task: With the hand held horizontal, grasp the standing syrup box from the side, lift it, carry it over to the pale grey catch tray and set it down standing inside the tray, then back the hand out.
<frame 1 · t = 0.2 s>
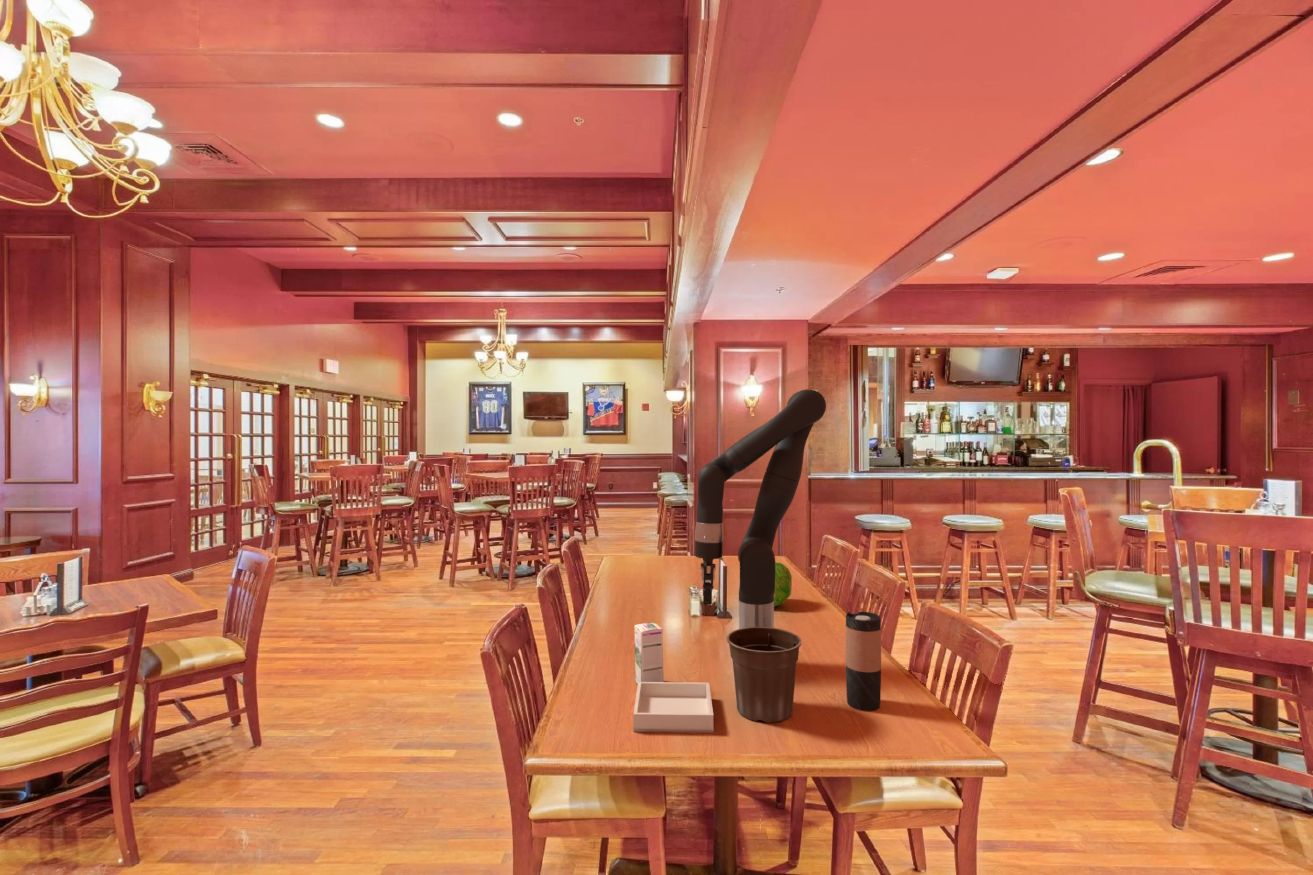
hand: (707, 600, 159), 17 cm above the table, fingers open, 8 cm apart
catch tray: (673, 713, 130), on the table
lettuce: (767, 606, 216), on the table
travel mug: (863, 704, 135), on the table
syrup box: (649, 686, 146), on the table
plant pot: (764, 711, 132), on the table
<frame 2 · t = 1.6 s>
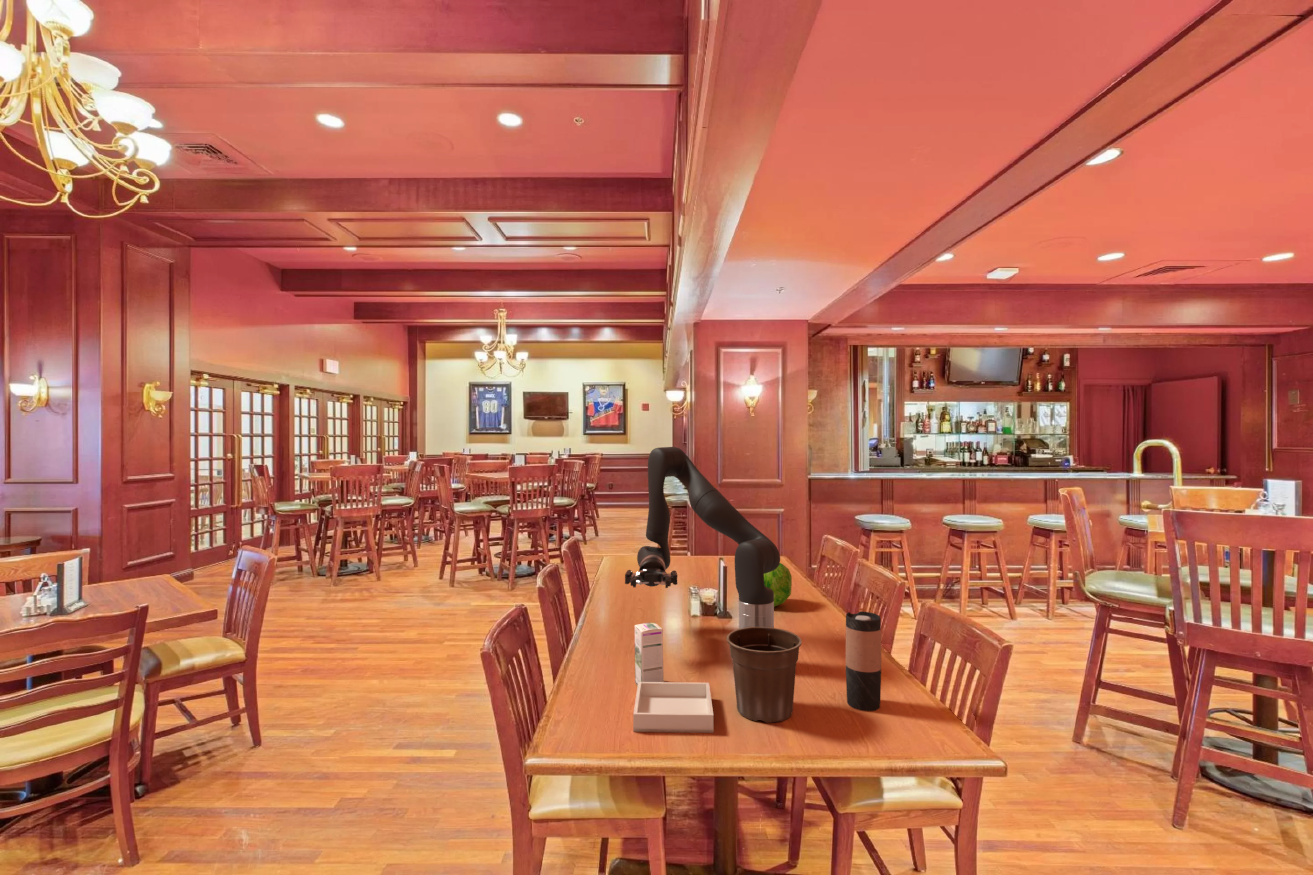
hand: (650, 583, 157), 22 cm above the table, fingers open, 8 cm apart
nothing on the table moved.
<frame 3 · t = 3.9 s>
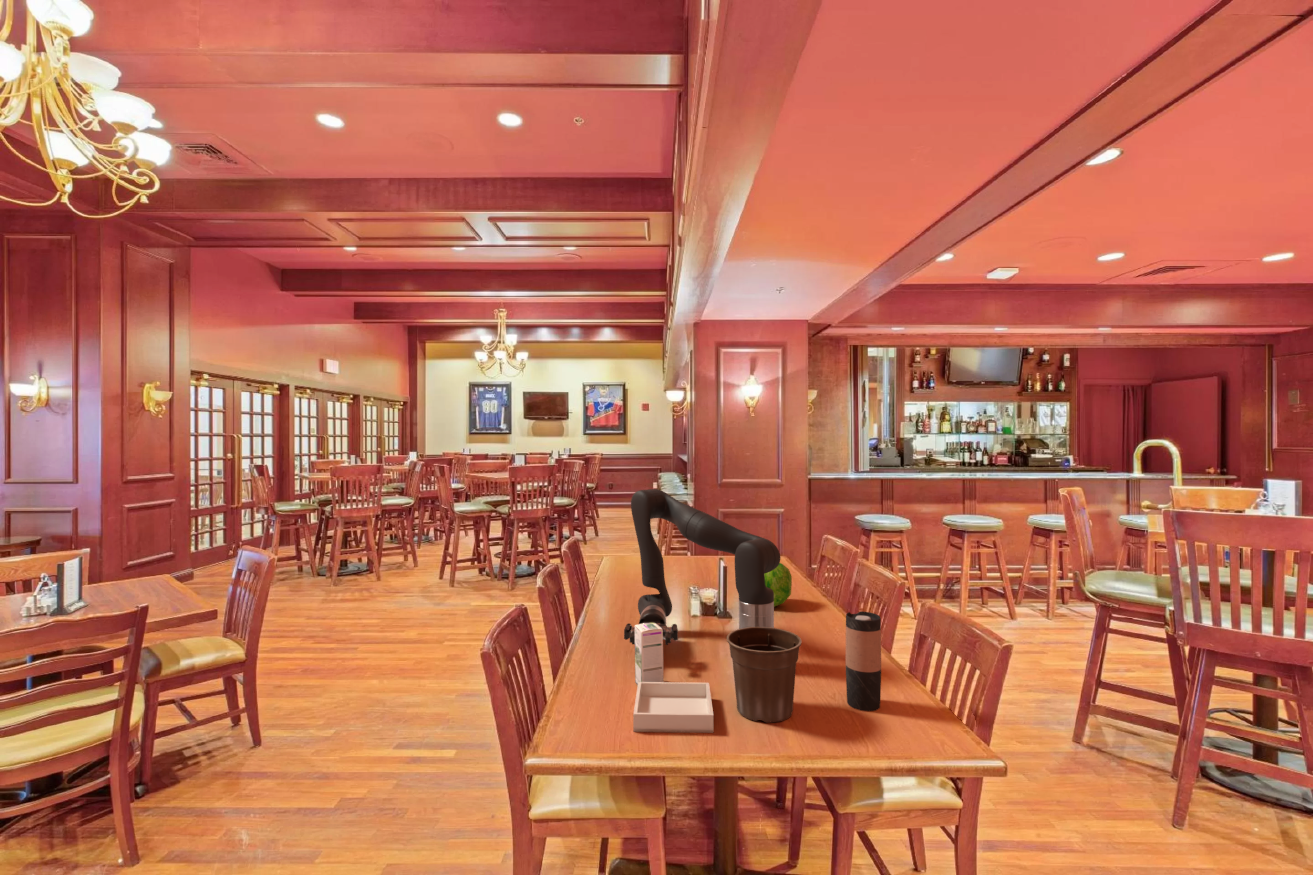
hand: (650, 640, 153), 9 cm above the table, fingers open, 8 cm apart
nothing on the table moved.
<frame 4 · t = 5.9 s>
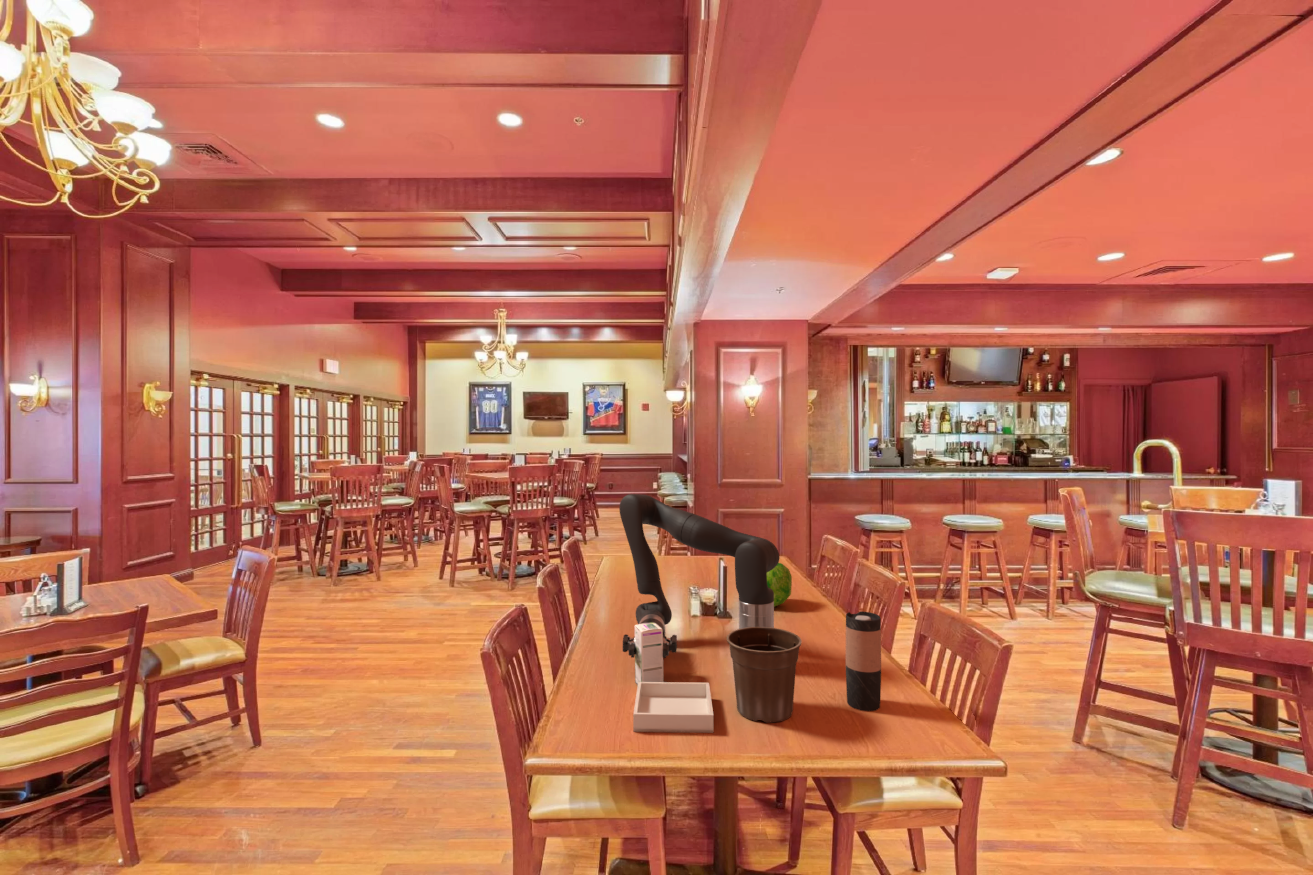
hand: (648, 653, 143), 9 cm above the table, fingers closed on syrup box, 7 cm apart
syrup box: (648, 686, 146), on the table, touching gripper
everything else where it was.
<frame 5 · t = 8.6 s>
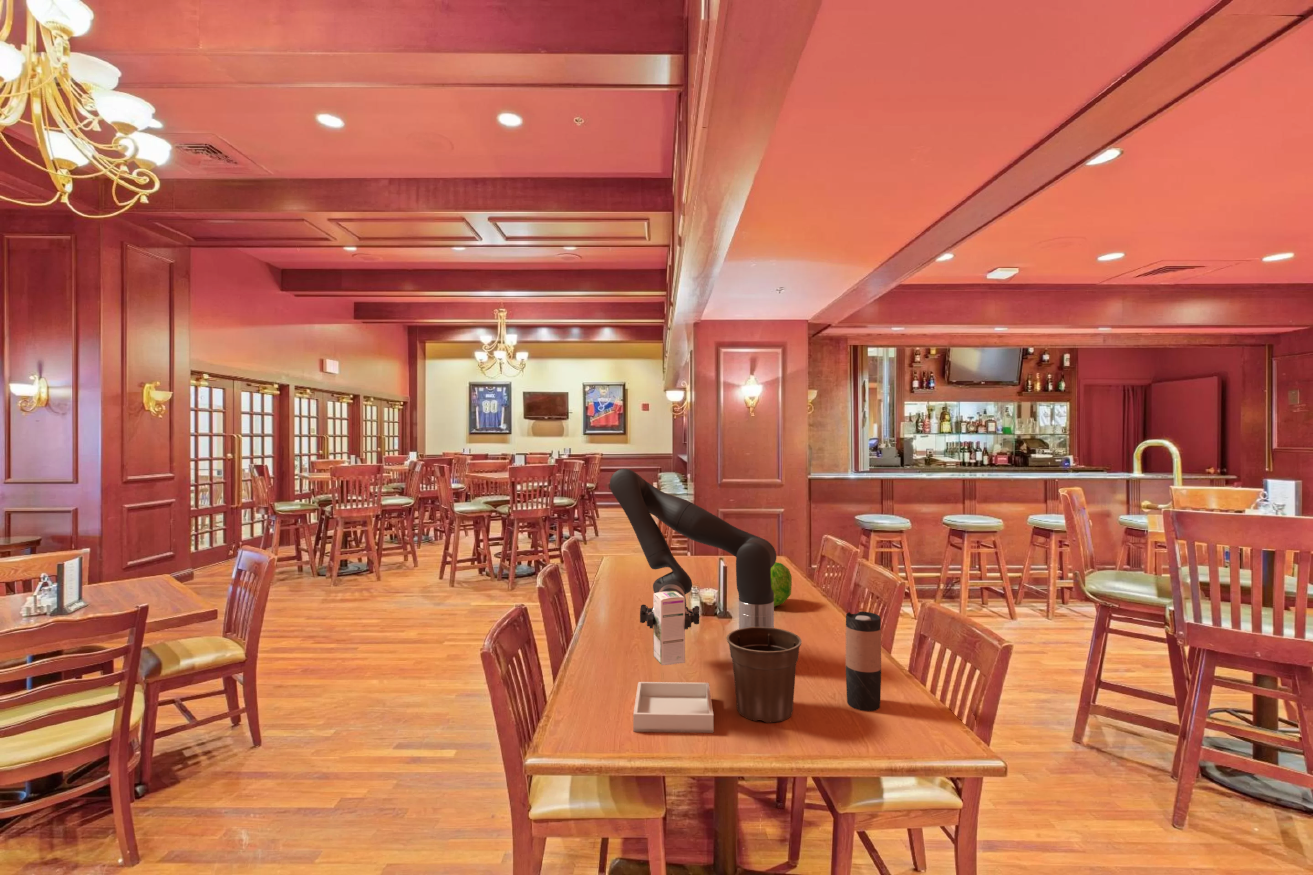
hand: (668, 624, 130), 20 cm above the table, fingers closed on syrup box, 7 cm apart
syrup box: (668, 660, 132), point 11 cm above the table, touching gripper
everything else where it was.
when the fingers open (10 cm above the table, at t = 11.2 s): syrup box drops 1 cm, resting on catch tray.
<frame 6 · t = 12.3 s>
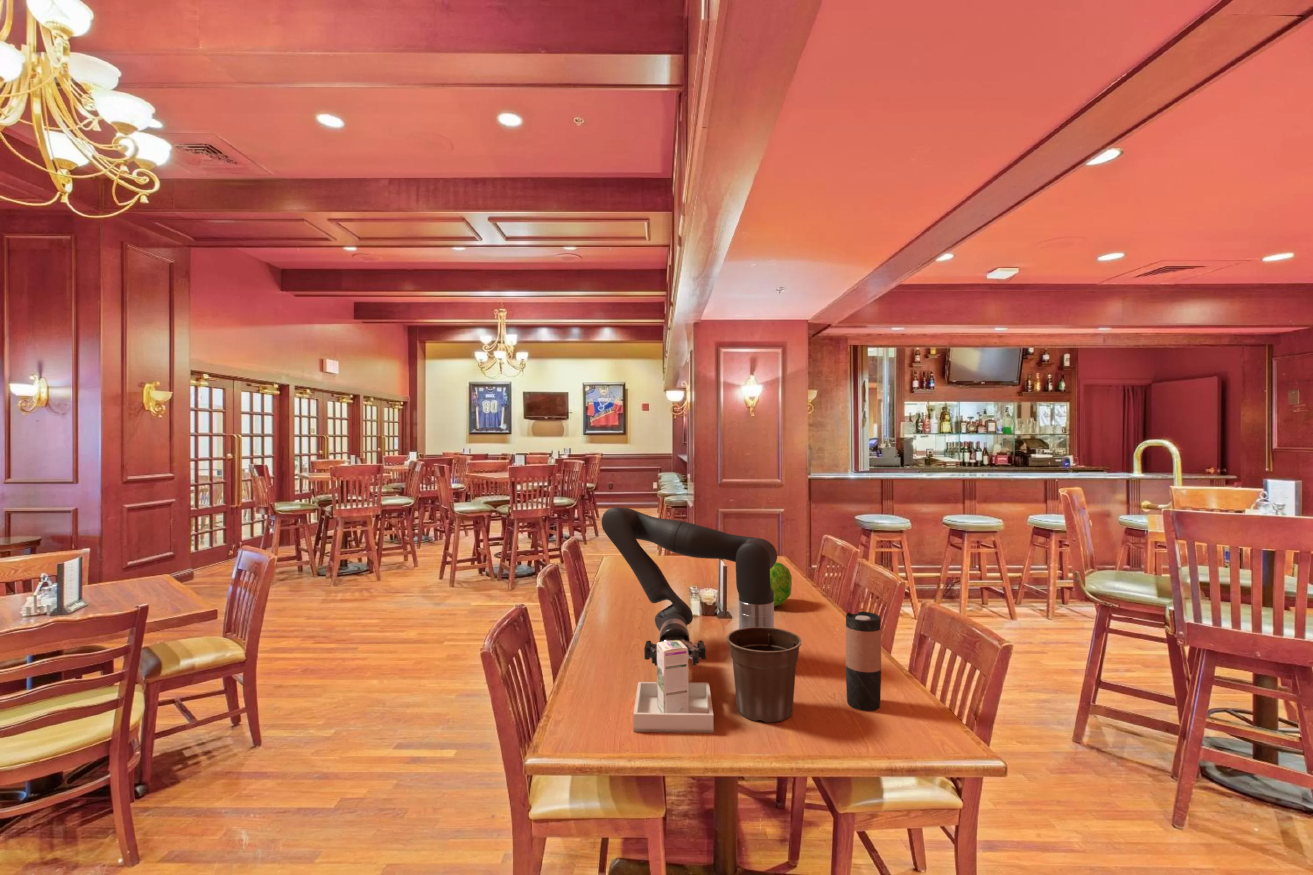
hand: (675, 661, 133), 10 cm above the table, fingers open, 8 cm apart
syrup box: (672, 711, 131), resting on catch tray
everything else where it was.
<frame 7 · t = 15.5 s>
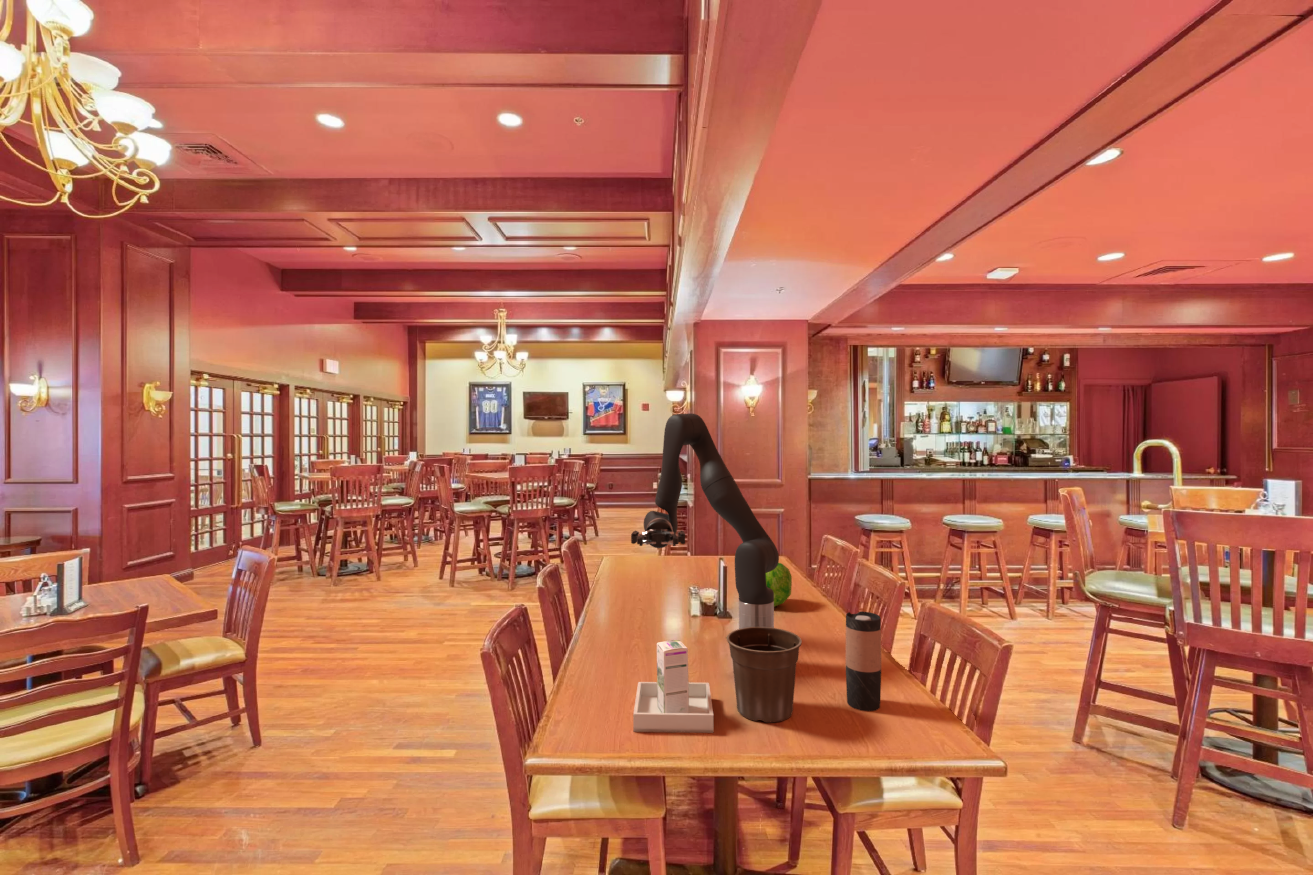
hand: (657, 541, 152), 34 cm above the table, fingers open, 8 cm apart
nothing on the table moved.
at the end: syrup box inside the target area on the catch tray (0.3 cm from its centre), point 0.4 cm above the catch tray's base; syrup box tilted 0°; the gripper is holding nothing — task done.
